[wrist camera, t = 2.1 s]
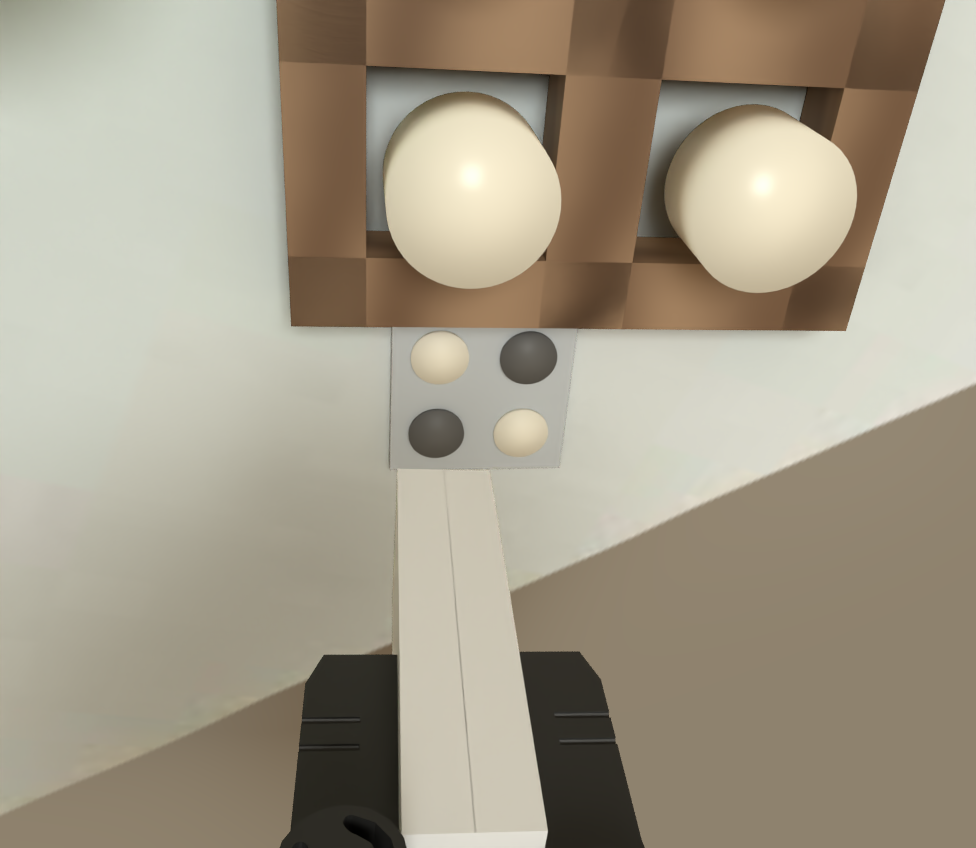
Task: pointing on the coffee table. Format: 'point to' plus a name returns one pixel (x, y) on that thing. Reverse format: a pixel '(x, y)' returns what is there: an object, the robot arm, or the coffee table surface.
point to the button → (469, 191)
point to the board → (586, 149)
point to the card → (479, 397)
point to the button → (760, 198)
